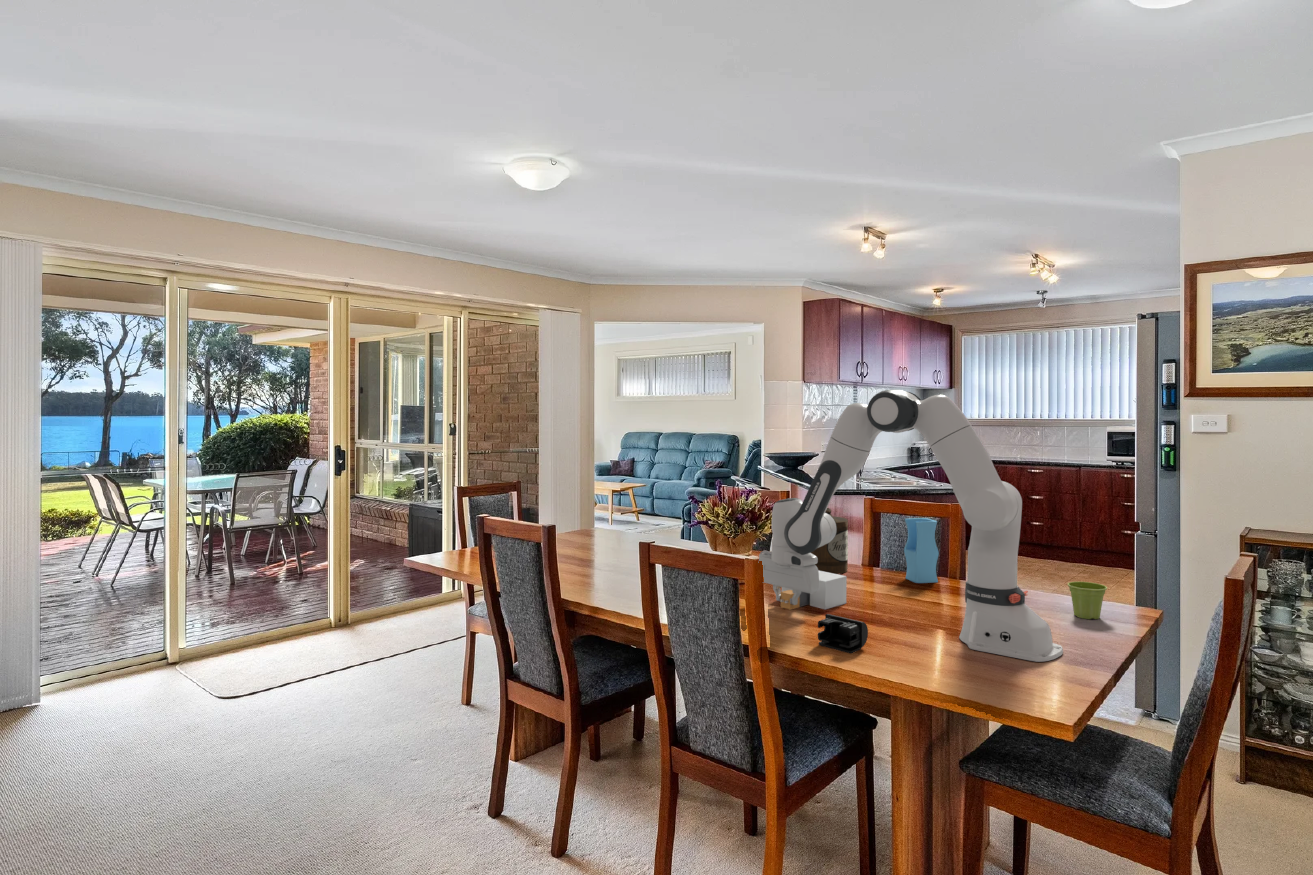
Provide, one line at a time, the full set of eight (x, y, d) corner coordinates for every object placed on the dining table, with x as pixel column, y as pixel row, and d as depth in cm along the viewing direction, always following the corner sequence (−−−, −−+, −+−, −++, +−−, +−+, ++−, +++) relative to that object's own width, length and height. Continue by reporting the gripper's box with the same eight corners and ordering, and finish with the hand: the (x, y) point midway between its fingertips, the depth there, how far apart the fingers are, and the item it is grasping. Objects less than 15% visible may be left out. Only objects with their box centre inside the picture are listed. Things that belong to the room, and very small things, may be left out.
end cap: (868, 647, 175) (868, 619, 175) (852, 654, 170) (853, 625, 170) (831, 638, 182) (832, 611, 182) (816, 644, 177) (816, 617, 177)
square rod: (843, 594, 224) (843, 580, 224) (788, 610, 207) (788, 594, 207) (833, 592, 227) (833, 578, 226) (778, 607, 210) (778, 592, 210)
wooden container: (840, 576, 249) (841, 512, 248) (798, 571, 256) (799, 509, 255) (852, 568, 262) (853, 506, 261) (812, 563, 269) (812, 504, 268)
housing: (846, 603, 214) (846, 576, 214) (825, 609, 208) (825, 581, 208) (802, 592, 227) (802, 567, 226) (781, 598, 220) (781, 571, 220)
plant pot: (1062, 616, 200) (1062, 585, 200) (1072, 609, 207) (1073, 579, 206) (1101, 623, 194) (1102, 591, 193) (1110, 616, 200) (1111, 585, 200)
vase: (903, 577, 246) (904, 518, 245) (925, 576, 248) (926, 517, 247) (916, 583, 238) (916, 522, 238) (938, 582, 240) (939, 521, 239)
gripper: (752, 550, 215) (752, 597, 215) (808, 561, 199) (808, 611, 200) (766, 547, 219) (766, 593, 219) (822, 558, 203) (822, 607, 204)
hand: (786, 602), depth 209 cm, fingers closed on square rod, 4 cm apart
